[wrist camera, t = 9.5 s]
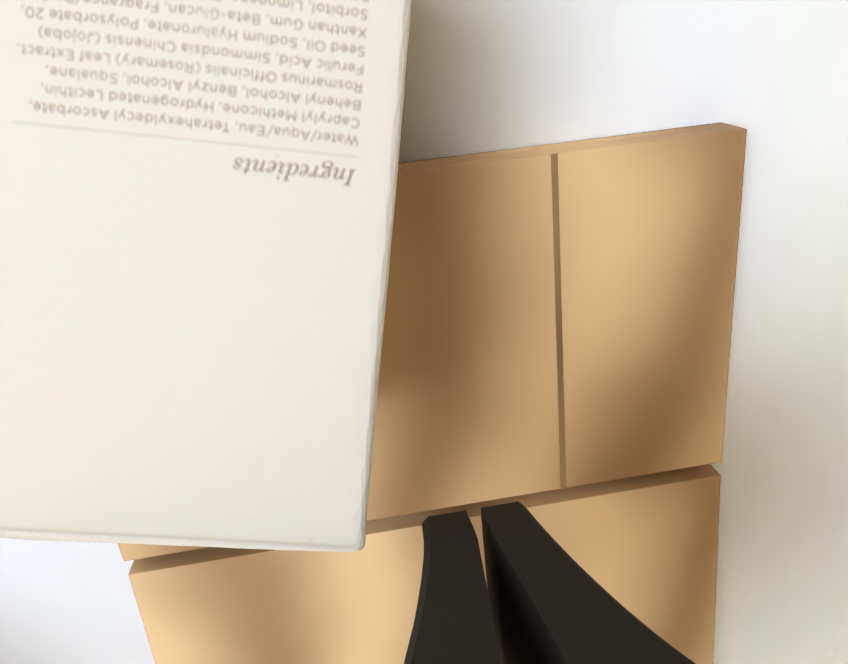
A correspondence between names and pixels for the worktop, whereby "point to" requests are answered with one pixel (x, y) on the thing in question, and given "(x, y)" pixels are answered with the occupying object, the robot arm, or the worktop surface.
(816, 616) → the worktop surface
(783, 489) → the worktop surface
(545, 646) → the robot arm
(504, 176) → the laid board
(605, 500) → the plank
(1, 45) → the small box
